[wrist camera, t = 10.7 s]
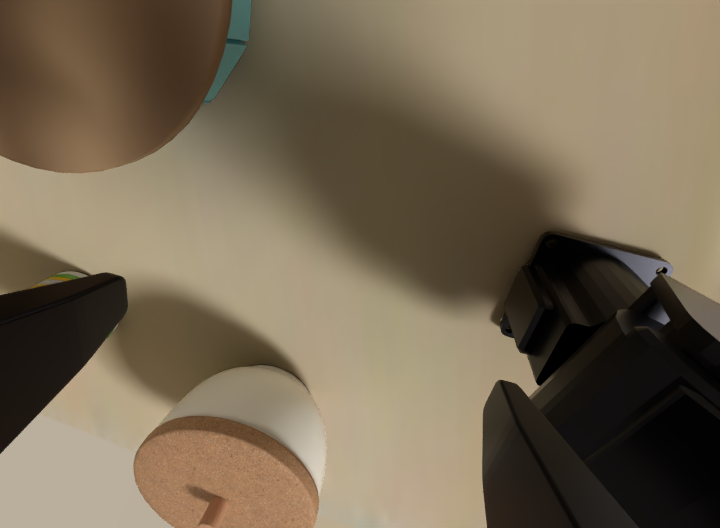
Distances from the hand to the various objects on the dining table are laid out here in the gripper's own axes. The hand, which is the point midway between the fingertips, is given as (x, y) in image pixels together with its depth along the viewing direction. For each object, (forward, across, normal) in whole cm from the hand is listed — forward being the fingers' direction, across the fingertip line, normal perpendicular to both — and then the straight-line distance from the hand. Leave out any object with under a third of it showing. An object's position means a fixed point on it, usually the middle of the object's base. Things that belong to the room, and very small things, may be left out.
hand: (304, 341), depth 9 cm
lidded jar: (+13, +4, +17) cm, 22 cm away
